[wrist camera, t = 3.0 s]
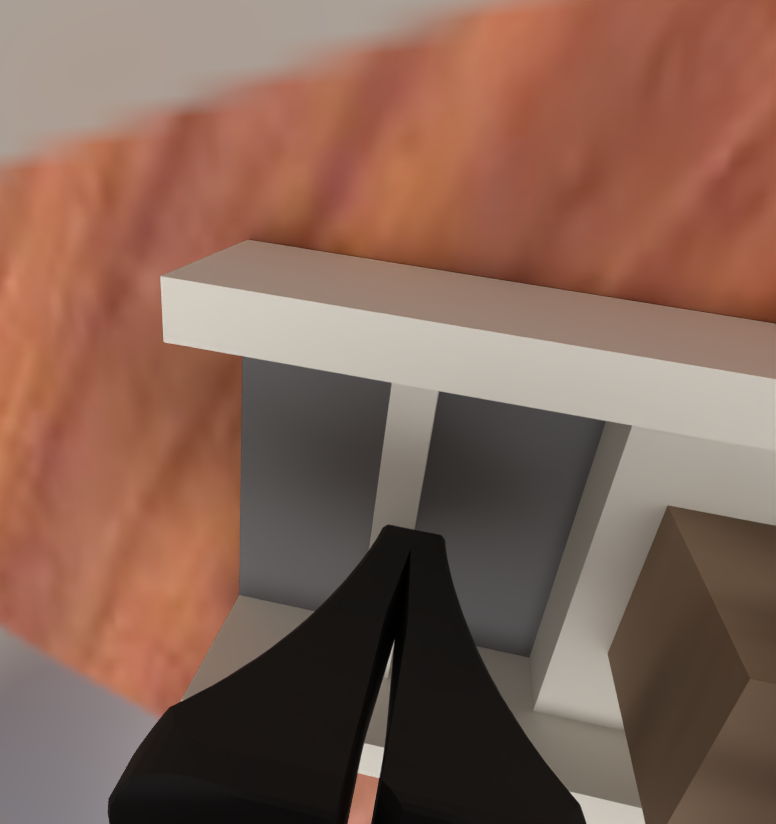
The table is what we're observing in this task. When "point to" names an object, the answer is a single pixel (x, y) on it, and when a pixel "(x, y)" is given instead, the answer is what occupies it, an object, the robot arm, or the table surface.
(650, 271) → the table surface
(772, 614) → the walnut block
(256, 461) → the track
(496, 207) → the table surface
